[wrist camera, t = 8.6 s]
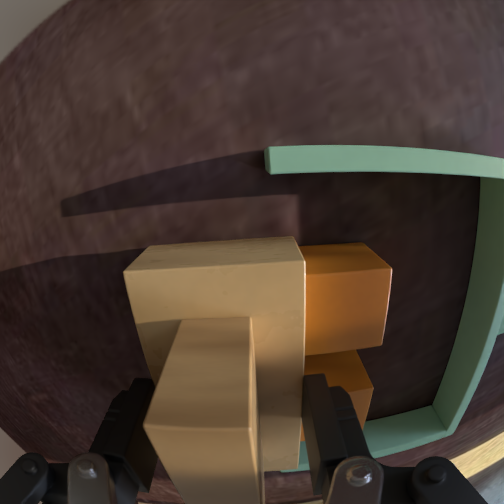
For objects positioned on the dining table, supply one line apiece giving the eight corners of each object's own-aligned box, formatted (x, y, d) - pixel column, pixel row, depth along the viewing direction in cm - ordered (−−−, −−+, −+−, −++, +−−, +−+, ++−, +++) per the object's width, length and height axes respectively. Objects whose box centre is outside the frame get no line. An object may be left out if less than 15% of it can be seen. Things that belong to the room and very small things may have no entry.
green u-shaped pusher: (277, 440, 15) (279, 473, 13) (263, 148, 11) (266, 146, 8) (497, 386, 15) (513, 406, 13) (548, 168, 10) (578, 175, 8)
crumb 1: (290, 314, 13) (300, 357, 10) (289, 246, 12) (301, 275, 9) (358, 307, 13) (382, 346, 10) (362, 241, 12) (393, 268, 9)
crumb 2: (291, 397, 14) (297, 442, 11) (291, 353, 13) (299, 398, 10) (347, 390, 14) (362, 432, 11) (354, 346, 13) (374, 388, 10)
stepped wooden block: (291, 416, 14) (307, 542, 7) (197, 419, 14) (176, 542, 7) (289, 228, 11) (350, 355, 4) (156, 237, 11) (43, 355, 4)
